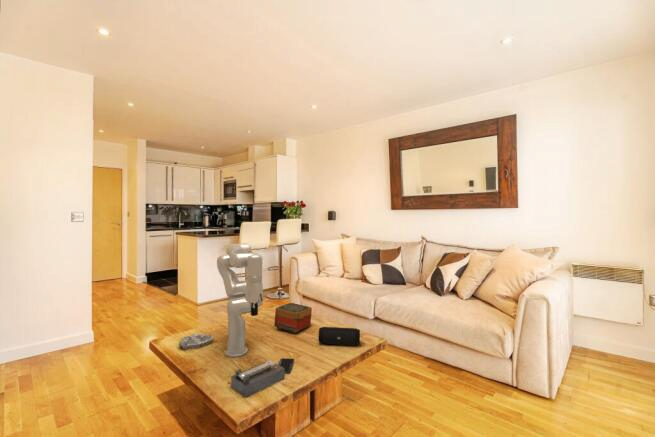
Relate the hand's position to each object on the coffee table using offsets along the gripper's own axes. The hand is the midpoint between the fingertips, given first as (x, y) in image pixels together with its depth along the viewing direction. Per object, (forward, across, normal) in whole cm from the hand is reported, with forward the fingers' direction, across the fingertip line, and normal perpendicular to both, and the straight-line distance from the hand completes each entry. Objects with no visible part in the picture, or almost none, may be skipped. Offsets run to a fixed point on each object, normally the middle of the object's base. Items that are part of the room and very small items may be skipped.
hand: (254, 315), depth 155 cm
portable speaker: (+30, +9, +57) cm, 65 cm away
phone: (+30, +7, +15) cm, 34 cm away
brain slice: (+30, -55, -5) cm, 63 cm away
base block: (+29, +10, -4) cm, 31 cm away
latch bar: (+24, +10, -5) cm, 26 cm away
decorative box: (+29, -31, +54) cm, 69 cm away
